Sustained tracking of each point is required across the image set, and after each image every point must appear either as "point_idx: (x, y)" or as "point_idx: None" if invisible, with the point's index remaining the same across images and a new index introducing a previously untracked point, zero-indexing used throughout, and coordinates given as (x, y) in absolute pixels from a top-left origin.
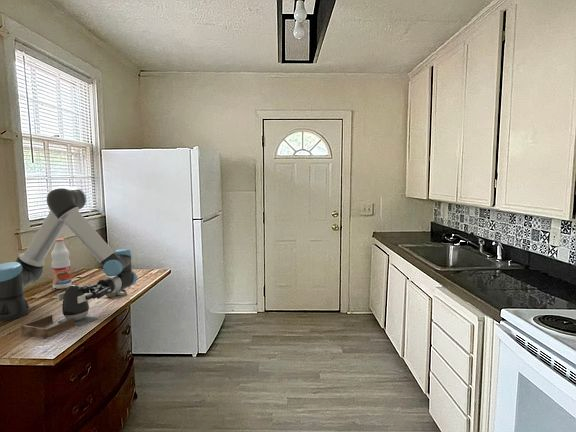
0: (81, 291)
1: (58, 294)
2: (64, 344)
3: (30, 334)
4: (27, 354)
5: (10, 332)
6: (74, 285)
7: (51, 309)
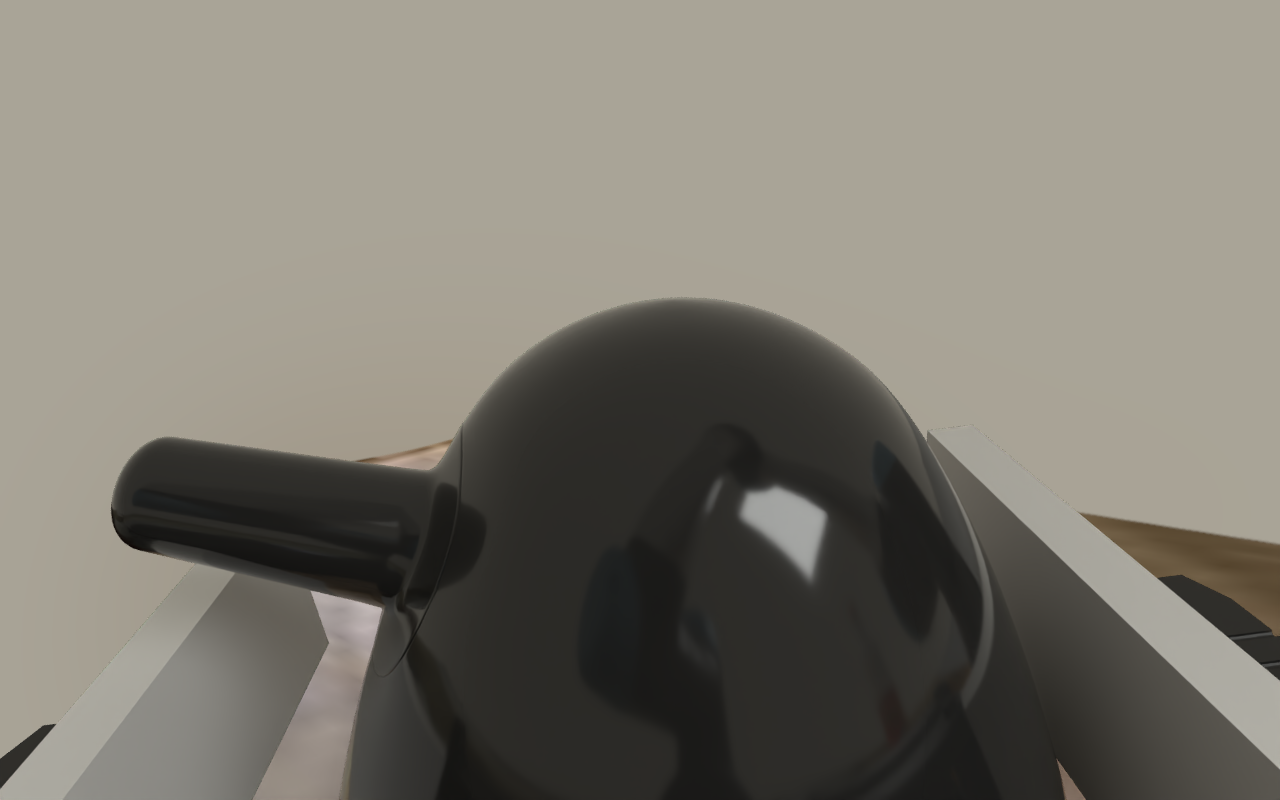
0: (378, 678)
1: (937, 429)
2: None
3: None
4: (429, 467)
5: None
6: (591, 330)
7: None
